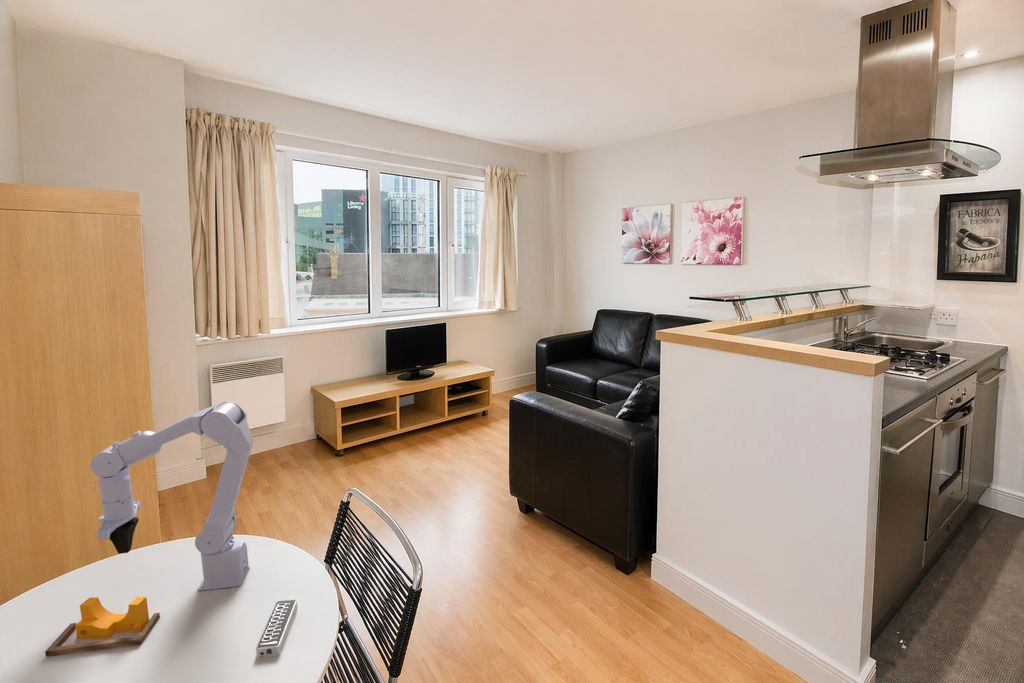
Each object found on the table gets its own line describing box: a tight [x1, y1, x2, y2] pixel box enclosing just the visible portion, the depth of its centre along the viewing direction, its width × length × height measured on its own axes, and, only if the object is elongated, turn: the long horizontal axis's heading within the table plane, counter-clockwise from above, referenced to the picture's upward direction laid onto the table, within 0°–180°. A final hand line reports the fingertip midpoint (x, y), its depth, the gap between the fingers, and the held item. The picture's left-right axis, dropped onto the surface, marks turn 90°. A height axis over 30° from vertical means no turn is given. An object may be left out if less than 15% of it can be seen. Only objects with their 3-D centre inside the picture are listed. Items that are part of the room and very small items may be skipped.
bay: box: [44, 612, 161, 658], centre depth 107 cm, size 17×8×1 cm, turn 101°
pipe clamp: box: [75, 596, 150, 640], centre depth 108 cm, size 12×4×6 cm, turn 91°
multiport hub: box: [255, 598, 298, 658], centre depth 109 cm, size 4×14×2 cm, turn 9°
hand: (124, 551), depth 121 cm, fingers closed
